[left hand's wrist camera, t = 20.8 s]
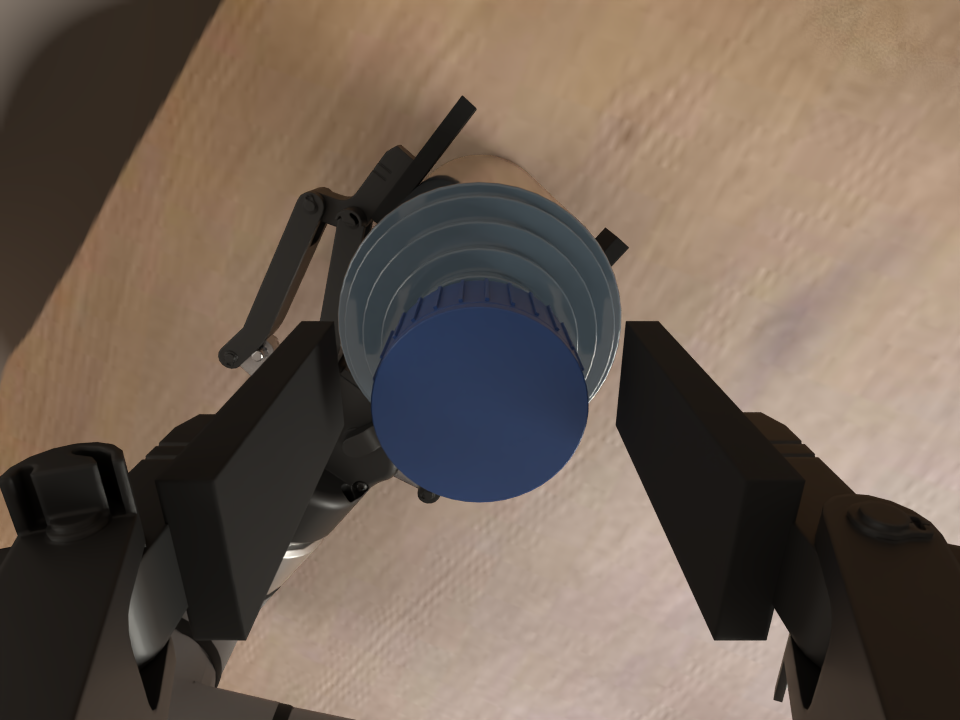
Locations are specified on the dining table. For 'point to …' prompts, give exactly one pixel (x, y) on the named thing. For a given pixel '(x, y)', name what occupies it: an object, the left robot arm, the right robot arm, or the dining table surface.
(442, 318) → the cap
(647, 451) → the left robot arm
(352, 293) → the bottle
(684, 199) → the dining table surface
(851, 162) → the dining table surface
